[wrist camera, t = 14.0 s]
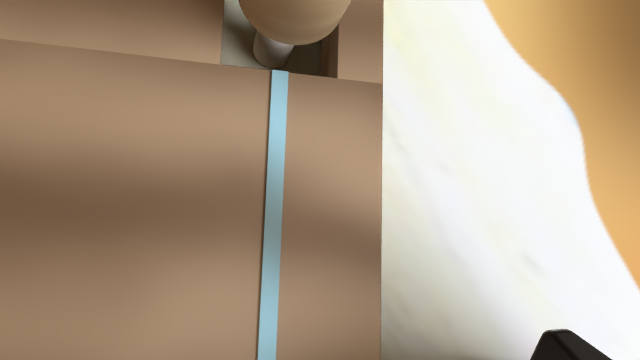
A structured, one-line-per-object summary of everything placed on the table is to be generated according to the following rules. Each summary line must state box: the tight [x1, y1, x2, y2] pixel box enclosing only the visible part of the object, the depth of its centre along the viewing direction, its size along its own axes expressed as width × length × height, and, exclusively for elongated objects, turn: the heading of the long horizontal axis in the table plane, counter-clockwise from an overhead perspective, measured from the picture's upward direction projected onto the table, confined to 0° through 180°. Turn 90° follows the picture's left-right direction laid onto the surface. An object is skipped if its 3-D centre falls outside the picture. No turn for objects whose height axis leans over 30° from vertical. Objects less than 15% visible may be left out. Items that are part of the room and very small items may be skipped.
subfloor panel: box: [0, 0, 383, 360], centre depth 21 cm, size 18×20×3 cm
